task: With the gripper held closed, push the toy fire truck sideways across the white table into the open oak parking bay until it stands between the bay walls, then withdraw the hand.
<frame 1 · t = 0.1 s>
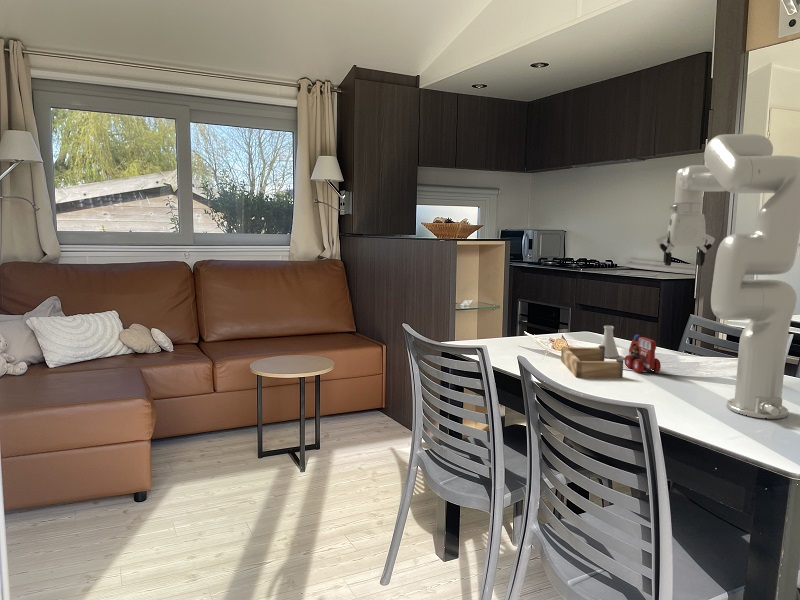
hand: (683, 265, 180), 31 cm above the table, tool pointing down, fingers open, 9 cm apart
bay: (591, 368, 178), on the table
flask: (607, 356, 194), on the table
toy fire truck: (641, 370, 177), on the table
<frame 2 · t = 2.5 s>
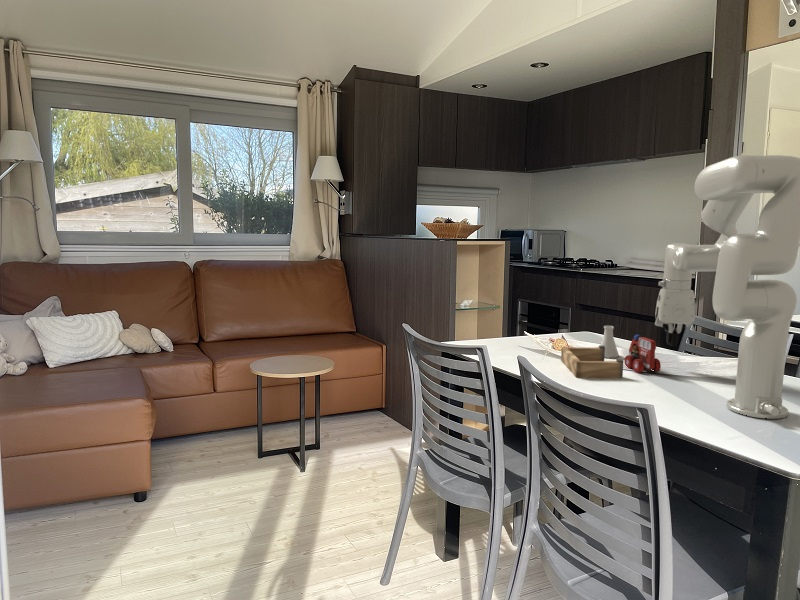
hand: (671, 344, 176), 8 cm above the table, tool pointing down, fingers closed
nothing on the table moved.
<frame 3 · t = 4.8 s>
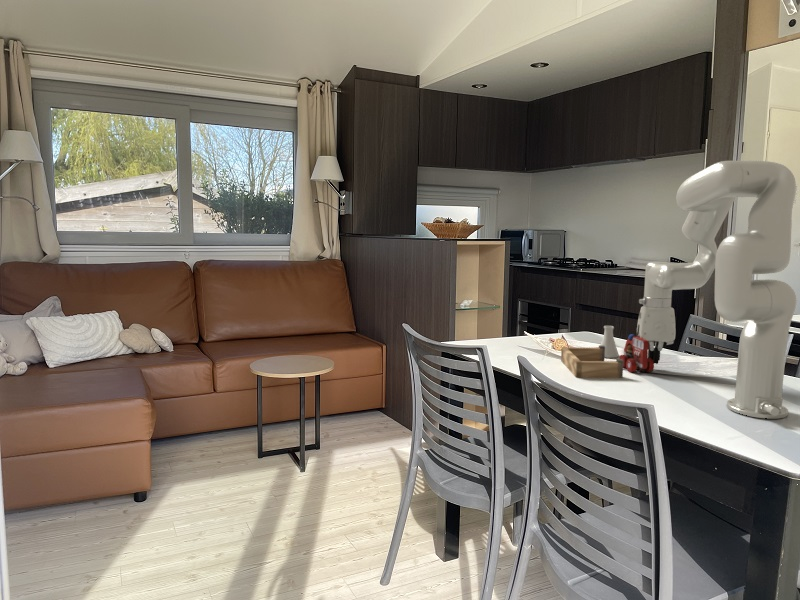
hand: (653, 362, 177), 2 cm above the table, tool pointing down, fingers closed
toy fire truck: (635, 369, 178), on the table, touching gripper
everything else where it was.
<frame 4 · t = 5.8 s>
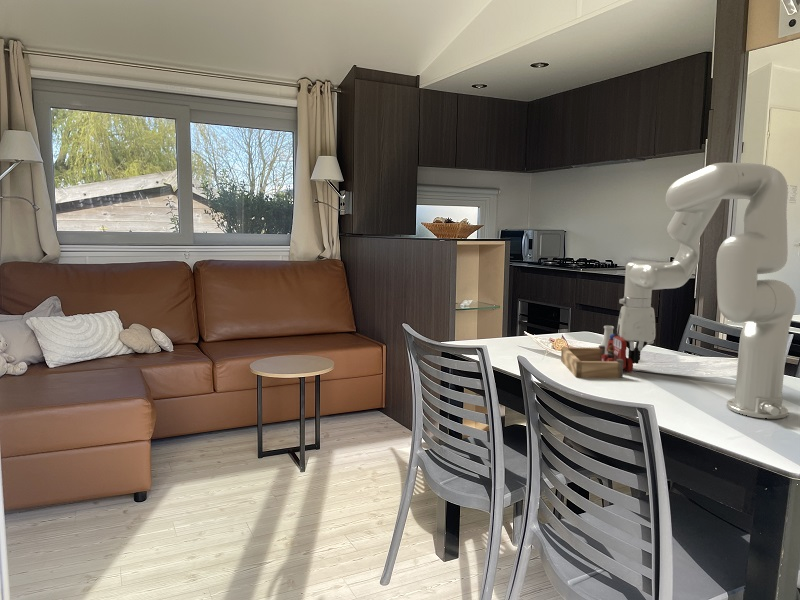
hand: (633, 362, 177), 2 cm above the table, tool pointing down, fingers closed
toy fire truck: (615, 369, 178), on the table, touching gripper
everything else where it was.
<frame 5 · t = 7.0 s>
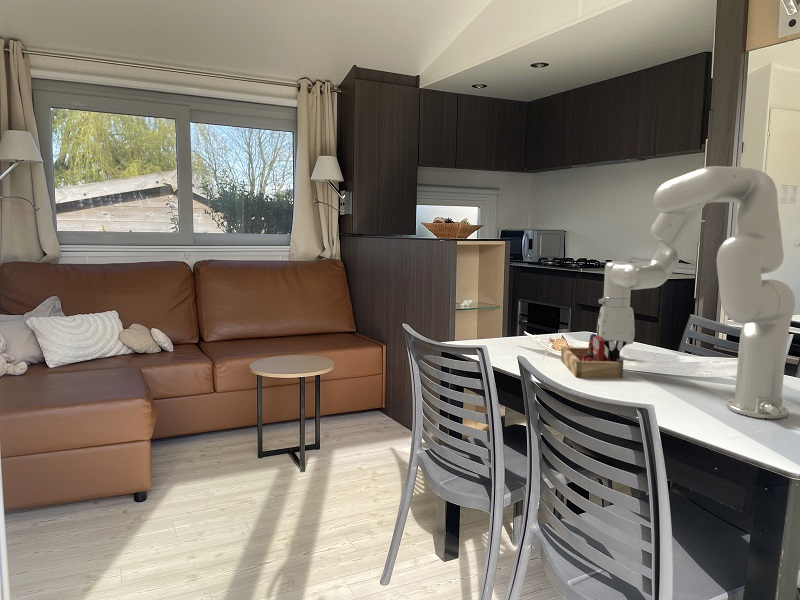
hand: (613, 362, 177), 2 cm above the table, tool pointing down, fingers closed
toy fire truck: (595, 369, 178), on the table, touching gripper
everything else where it was.
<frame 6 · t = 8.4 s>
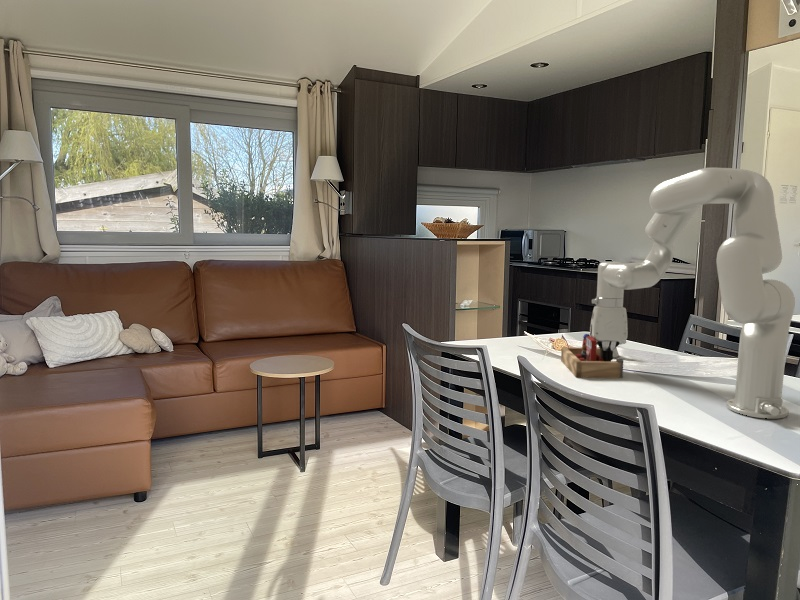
hand: (606, 362, 177), 2 cm above the table, tool pointing down, fingers closed
toy fire truck: (588, 369, 179), on the table
everything else where it was.
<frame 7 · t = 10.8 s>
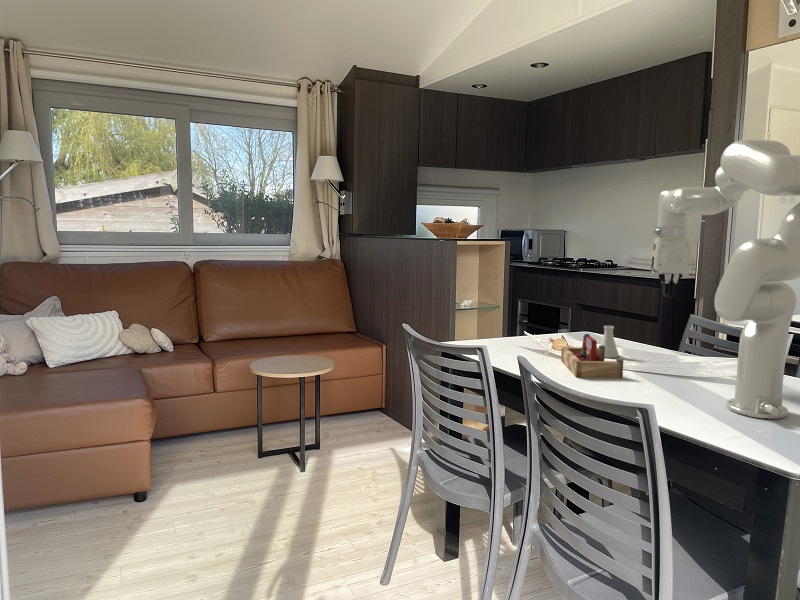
hand: (668, 296, 170), 23 cm above the table, tool pointing down, fingers closed
nothing on the table moved.
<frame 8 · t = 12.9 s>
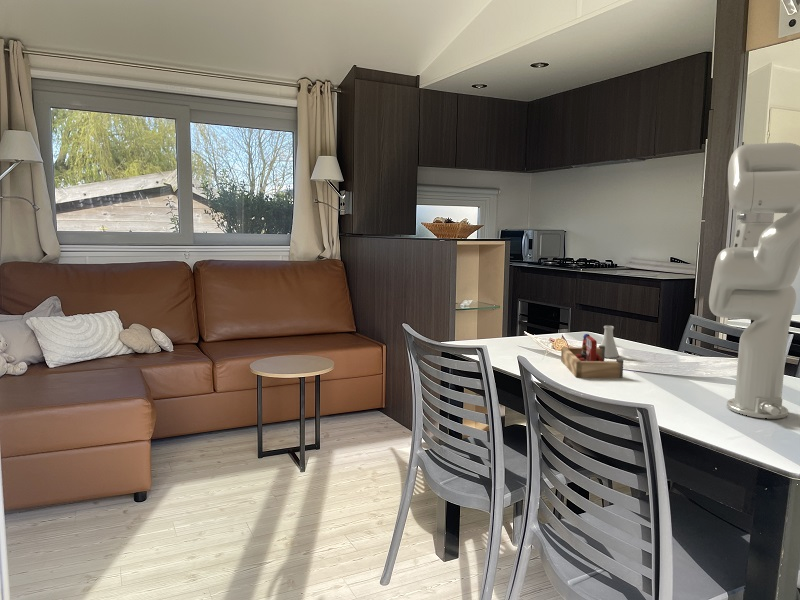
hand: (751, 286, 160), 27 cm above the table, tool pointing down, fingers closed
nothing on the table moved.
at the end: toy fire truck inside the target area on the bay (0.9 cm from its centre), point 0.0 cm above the bay's base; toy fire truck tilted 0° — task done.
